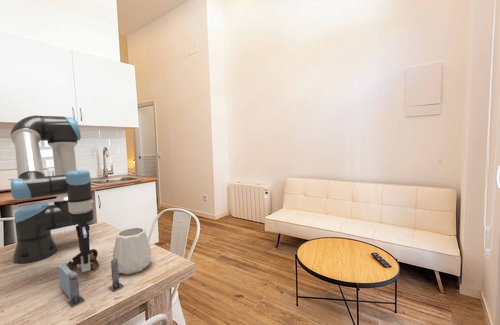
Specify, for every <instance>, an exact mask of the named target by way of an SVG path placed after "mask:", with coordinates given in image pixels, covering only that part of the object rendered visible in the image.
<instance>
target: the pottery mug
mask: <svg viewBox="0 0 500 325" xmlns="http://www.w3.org/2000/svg"><path fill="white" fill-rule="evenodd" d="M80 254H81V253H80V252H79V253H78V254H76V255H75V256H74V257H73V258H72V259H71V260H72V261H71V260H69V261H68V262H67V265H66V267H68V268H69V269H70V270H71V271H77V269H78V265H80V266H81V257H79V255H80ZM98 254H99V252H98V251H97V249H96V248H92V249H90V254H89V256H90V263H93V264H92V266H91V268H92V269H93V271H96V270H97V269H98V268H99V267H100V264H99V262H98V260H97V258H98Z"/></svg>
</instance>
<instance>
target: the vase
mask: <svg viewBox="0 0 500 325" xmlns="http://www.w3.org/2000/svg"><path fill="white" fill-rule="evenodd" d="M113 259H117V261H118V274H122V275H128V276H129V275H132V274H136V273H140V272H142V271H143V270H144V269H146V268H147V267H148V266H149V265H150V263H151V260H152V247H151V244H150V241H149V238H148V235H147V232H146V229H145V228H143V227H130V228H125V229H122V230H121V231H119V232H117V234H116V237H115V243H114V248H113V255H112V260H113Z"/></svg>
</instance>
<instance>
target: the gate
mask: <svg viewBox="0 0 500 325" xmlns="http://www.w3.org/2000/svg"><path fill="white" fill-rule="evenodd" d="M57 269H58V280H59V288H60V289H61V291H63V292H64V294H66V295H67V297H68V298H69V299H70V300H72V293H71V283H70V279H73V278H76V277H78V278H79V275H78V273H77V272H76V270H70V269H69V267H68V266H67V265H66V264H65V263H64V264H59V265H58V266H57Z"/></svg>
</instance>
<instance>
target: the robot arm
mask: <svg viewBox="0 0 500 325" xmlns="http://www.w3.org/2000/svg"><path fill="white" fill-rule="evenodd" d="M81 136H82V135H81V129H80V127H79V124H78V122H77V120H76V119H75V118H74V117H72V116H71V117H70V116H59V115H57V116H54V115H37V114H36V115H29V116H26V117H24V118H22V119H20V120H19V121H17V122H16V123H15V125H13V127H12V129H11V131H10V140H11V141H12V143H14V149H15V159H16V160H15V163H16V171H17V172H16V173H17V178H13V179H11V180H10V193H11V197H12V199H14V200H26V199H27V200H30V199H34V198H43V197H48V196H56V198H55V199H54V200H53V204H51V205H50V204H49V203H48V202H41V203H40V202H39V203H33V204H31V205H27V206H23V207H21V208H19V209H17V210H16V211H14V220H13V222H14V224H15V234H16V246H15V249H14V253H13V256H12V258H13V262H14V263H15V264H27V263H28V264H29V263H33V262H37V261H41V260H43V259H46V258H49V257H51V256H53V255H55V253H57V252H58V245H57V243H56V241H55V240H54V238H53V237H52V232H51V231H53V230H57V229H58V230H59V229H62V228H66V227H72V226H75V230H76V233H77V234H76V236H77V238H78V246H79V247H78V248H79V249H78V250H79V253H81V254H80V255H79V257H81V265H80V266H81V272H82V273H85V272H88V271H91V270H92V269H91V268H92V267H91V262H90V256H89V254H90V250H91V248H90V247H91V246H90V225H89V224H88V223H89V222H92V221H93V220H94V219H95V218H94V210H93V207H94V206H93V204H94V203H95V200H93V197H92V195H93V194H92V178H91V172H90V171H89V170H87V169H85V170H83V169H80V170H77V163H76V162H77V160H76V153H75V152H76V151H75V147H76V146H77V145H78V141H80V140H81ZM41 141H47V145H48V146H50V147H51V149H52V157H53V158H52V159H53V168H54V175H46V176H45V173H44V167H43V161H42V154H41V148H40V142H41Z"/></svg>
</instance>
